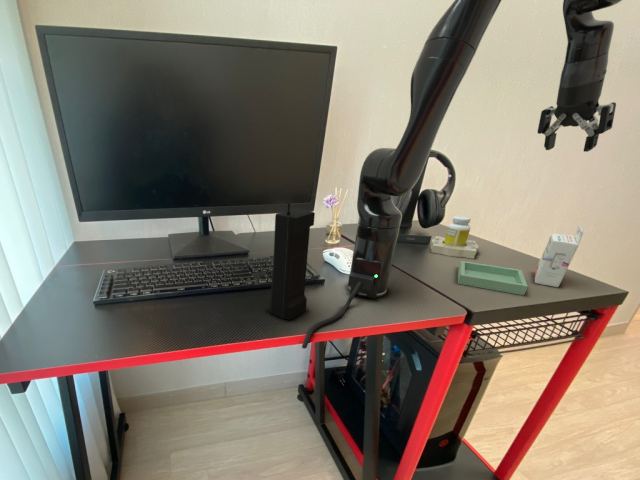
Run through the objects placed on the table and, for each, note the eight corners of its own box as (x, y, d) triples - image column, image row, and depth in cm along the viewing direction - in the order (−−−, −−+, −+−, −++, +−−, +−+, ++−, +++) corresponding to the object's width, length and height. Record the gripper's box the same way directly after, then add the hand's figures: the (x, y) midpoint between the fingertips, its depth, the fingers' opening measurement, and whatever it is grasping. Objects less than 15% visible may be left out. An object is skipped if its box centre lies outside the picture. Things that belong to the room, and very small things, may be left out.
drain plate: (476, 259, 101) (478, 252, 100) (428, 252, 107) (430, 245, 106) (475, 247, 111) (477, 240, 110) (431, 242, 117) (433, 235, 116)
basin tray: (524, 295, 79) (528, 286, 78) (457, 283, 86) (460, 275, 85) (518, 278, 88) (521, 269, 87) (458, 268, 95) (461, 260, 94)
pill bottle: (463, 249, 110) (473, 216, 105) (462, 254, 106) (473, 220, 100) (442, 246, 113) (451, 214, 108) (441, 251, 108) (450, 218, 103)
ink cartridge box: (532, 273, 91) (555, 221, 84) (556, 277, 89) (581, 224, 82) (533, 283, 85) (558, 228, 78) (558, 288, 83) (586, 231, 76)
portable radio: (288, 300, 79) (295, 194, 67) (309, 308, 75) (319, 198, 63) (267, 312, 74) (270, 200, 62) (288, 321, 70) (295, 204, 58)
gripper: (535, 89, 81) (527, 154, 90) (608, 81, 69) (590, 157, 78) (559, 77, 82) (548, 143, 91) (634, 67, 70) (614, 144, 79)
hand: (568, 149), depth 84 cm, fingers open, 8 cm apart
